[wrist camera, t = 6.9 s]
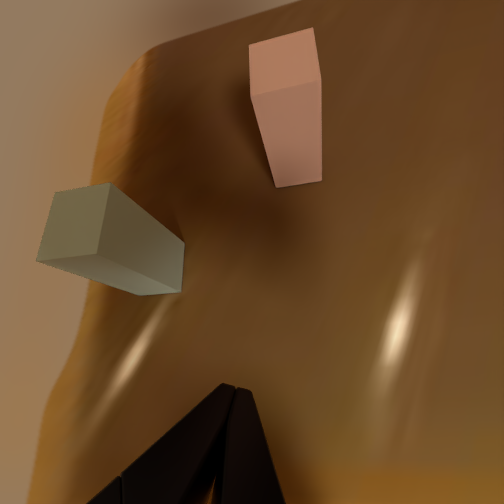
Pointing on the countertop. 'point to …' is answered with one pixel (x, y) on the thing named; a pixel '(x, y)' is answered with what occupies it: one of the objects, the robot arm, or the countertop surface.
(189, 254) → the countertop surface
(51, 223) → the sage block
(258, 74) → the terracotta block
